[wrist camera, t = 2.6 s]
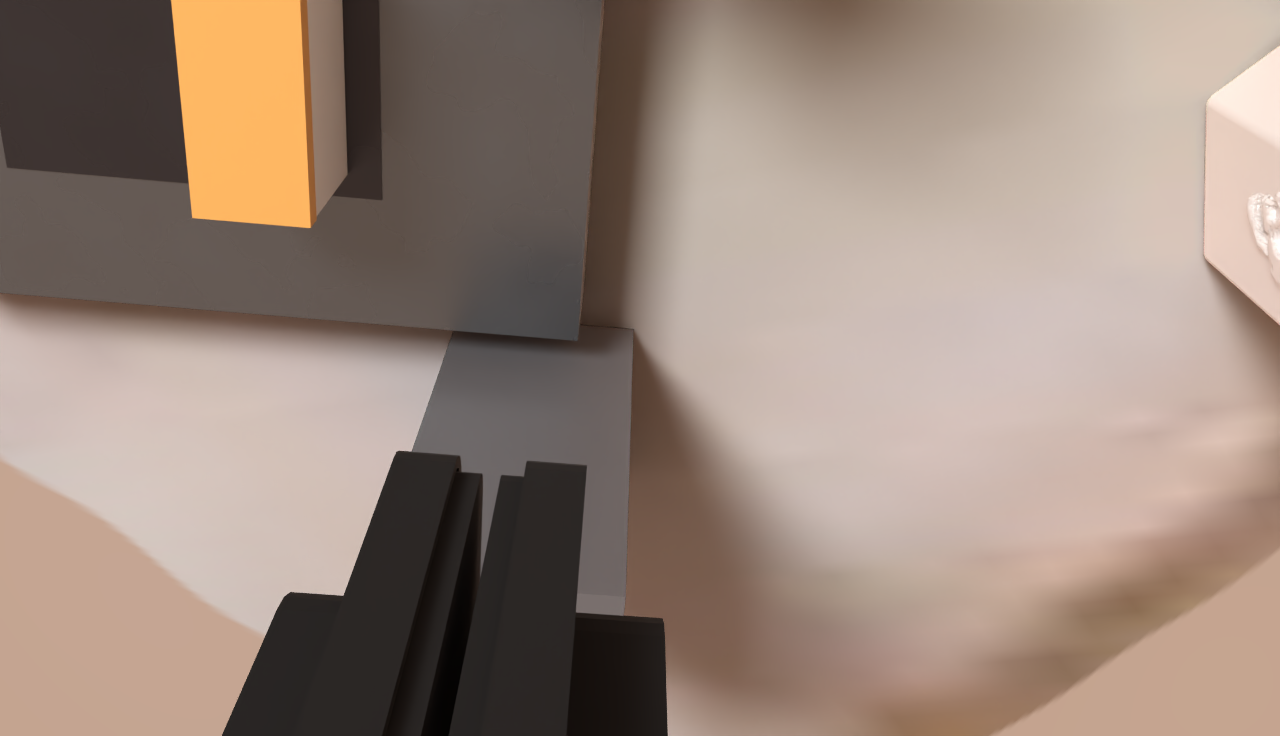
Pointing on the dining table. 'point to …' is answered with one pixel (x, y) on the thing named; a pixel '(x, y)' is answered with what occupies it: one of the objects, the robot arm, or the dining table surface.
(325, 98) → the block
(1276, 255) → the jar
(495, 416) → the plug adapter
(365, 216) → the breaker panel
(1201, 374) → the dining table surface
